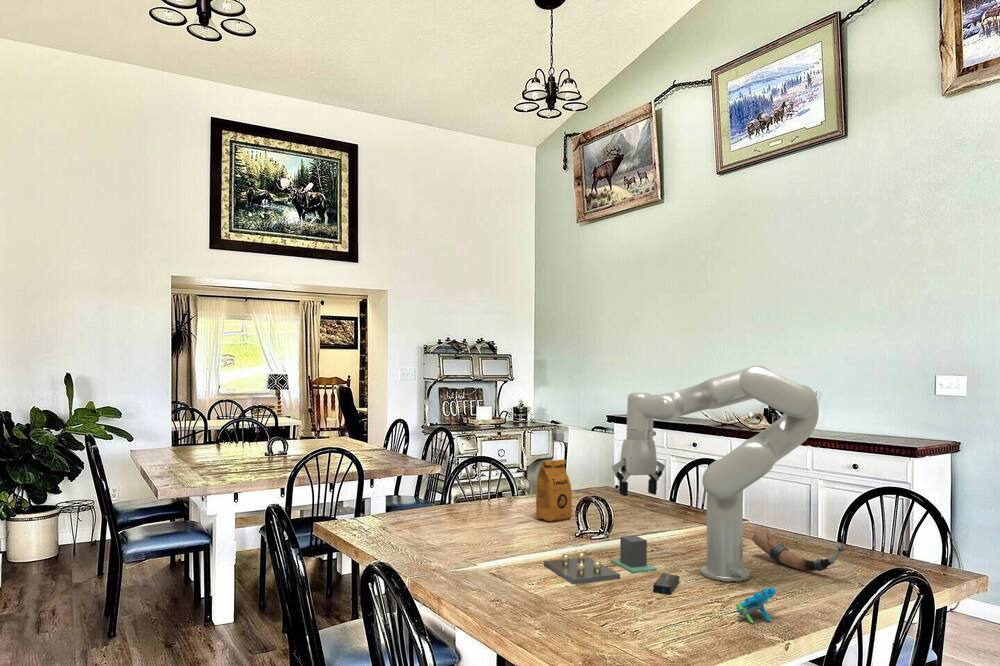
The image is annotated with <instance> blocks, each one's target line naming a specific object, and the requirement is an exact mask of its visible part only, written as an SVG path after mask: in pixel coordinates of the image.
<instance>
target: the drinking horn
mask: <svg viewBox="0 0 1000 666" xmlns="http://www.w3.org/2000/svg"><path fill="white" fill-rule="evenodd" d="M751 540H752V542H753V543H754V544H755V545H756V546H757V547H758V548H759V549H761V550H762V551H763V552H764V553H765V554H767V555H768V556H769V558H771V559H772V560H774V561H775V562H777V563H779V564H783V565H785V566H788V567H789V566H790V568H792V567H793V568H792V569H795V568H796V569H795V570H799V569H800V571H807V572H814V571H816V572H817V571H819V572H823V571H824V570H827V569H828V567H830V566H831V565H834V563H835V562H836V561H837V560H838V558H839V557H840V555H841V554H842V552H843V551H845V550H846V547H845V546H844V545H843V544H840V543H839V544H838V545H837V548H838V549H837V550H836V552H834V553H833V554H832V555H830V556H826V558H821V557H819V556H818V557H817V559H815V560H808V559H805V558H802V557H800V556H798V555H796V554H794V553H792V552H791V551H789V549H788V548H787V547H786V546H785V544H783V543H780V542H779V541H778V540H777V539H776V538H775V537H774V536H773V535H772V533H771V532H770V531H769V530H768V528H762V529H760V530H758V531H756V532H755V533H754V535H753V536H752V538H751Z"/></svg>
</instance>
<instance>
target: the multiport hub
mask: <svg viewBox="0 0 1000 666" xmlns="http://www.w3.org/2000/svg"><path fill="white" fill-rule="evenodd" d="M678 584H679V585H680V576H679V575H676V574H671V573H670V574H668V573H662V574H661V575H660V576H659V578H658V579H657V580H656V581H655V582H654V583H653V585H652V586H653V587H652V592H653V593H654V594H658V593H659V594H660V595H665V594H666V595H665V596H672V594H673V593H674V591H675V590H676V589H677V587H678V586H679V585H678ZM675 588H676V589H675ZM672 592H673V593H672ZM659 594H658V595H659Z"/></svg>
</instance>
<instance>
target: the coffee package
mask: <svg viewBox="0 0 1000 666" xmlns="http://www.w3.org/2000/svg"><path fill="white" fill-rule="evenodd" d="M566 463H567V462H566V459H565V458H564V459H556V460H543V461H542V462H541V464H540V468H539V470H538V474H537V477H536V490H535V491H536V492H535V495H536V496H535V497H536V499H535V502H536V503H535V505H536V507H535V509H536V510H535V512H536V519H537V518H538V519H537V520H541V519H544V520H543V521H546V522H554V521H553V520H557V521H563V520H562V519H565V520H569V519H568V518H570V519H571V518H572V517H573V508H572V507H573V506H572V505H573V502H572V500H573V499H572V496H573V495H572V493H573V492H572V491H573V489H572V485H571V481H570V478H569V476H568V474H567V469H566V466H565V464H566Z"/></svg>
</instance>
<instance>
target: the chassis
mask: <svg viewBox="0 0 1000 666" xmlns="http://www.w3.org/2000/svg"><path fill="white" fill-rule="evenodd" d="M601 563H602V562H601V561H600V560H594V559H593V558H590V557H589V556H586V555H585V552H581V551H580V552H579V551H578V552H577V557H572V558H570V554H567V553H563V554H561V559H552V560H544V561H543V565H544V567H546V568H547V569H548V570H550V569H551V570H550V571H552V572H554V573H555V574H557V575H558V574H559V576H560V577H562V578H563V579H564V580H566V581H568V582H570V583H571V584H572V585H580V584H587V583H588V584H589V583H596V582H597V583H598V582H605V581H613V580H620V579H621V573H618V572H617V571H615V570H613V569H611V568H609V567H607V566H605V565H603V564H601Z"/></svg>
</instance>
